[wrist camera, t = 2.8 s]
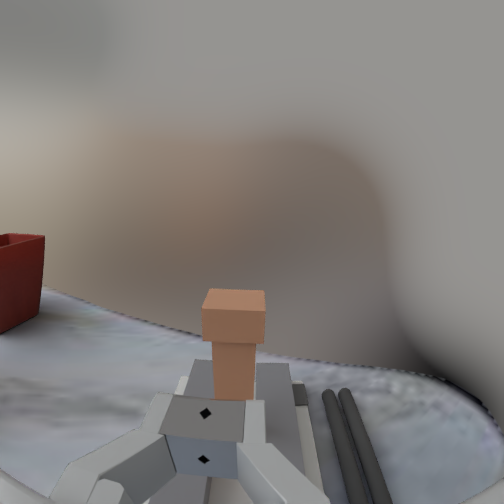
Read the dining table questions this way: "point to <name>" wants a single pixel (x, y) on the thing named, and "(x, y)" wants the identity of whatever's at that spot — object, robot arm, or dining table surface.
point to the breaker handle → (234, 339)
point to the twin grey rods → (346, 453)
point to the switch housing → (277, 432)
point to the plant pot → (20, 277)
